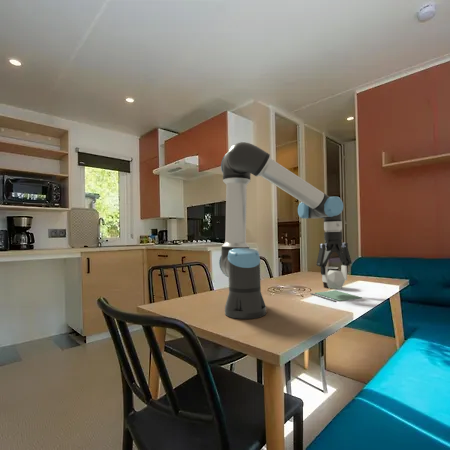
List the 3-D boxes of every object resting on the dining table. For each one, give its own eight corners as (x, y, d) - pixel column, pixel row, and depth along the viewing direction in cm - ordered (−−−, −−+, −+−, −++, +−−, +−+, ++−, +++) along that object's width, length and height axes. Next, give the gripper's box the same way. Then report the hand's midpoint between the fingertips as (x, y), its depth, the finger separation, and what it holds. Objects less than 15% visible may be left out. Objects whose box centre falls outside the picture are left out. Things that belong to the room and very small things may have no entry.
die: (346, 289, 128) (334, 271, 133) (352, 282, 121) (339, 263, 126) (329, 295, 127) (319, 276, 132) (334, 288, 120) (323, 269, 125)
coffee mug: (318, 286, 149) (317, 267, 149) (331, 285, 151) (331, 266, 151) (332, 290, 138) (331, 270, 138) (347, 289, 140) (346, 268, 140)
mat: (339, 301, 117) (339, 300, 117) (314, 293, 132) (314, 292, 132) (361, 298, 121) (361, 297, 121) (335, 291, 136) (335, 290, 136)
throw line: (334, 301, 116) (334, 301, 116) (310, 294, 132) (310, 293, 132) (336, 301, 117) (336, 300, 117) (312, 293, 132) (312, 293, 132)
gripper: (317, 231, 120) (319, 284, 119) (359, 230, 128) (361, 280, 127) (306, 231, 127) (308, 281, 126) (346, 230, 135) (348, 277, 134)
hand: (334, 281), depth 127 cm, fingers open, 10 cm apart
